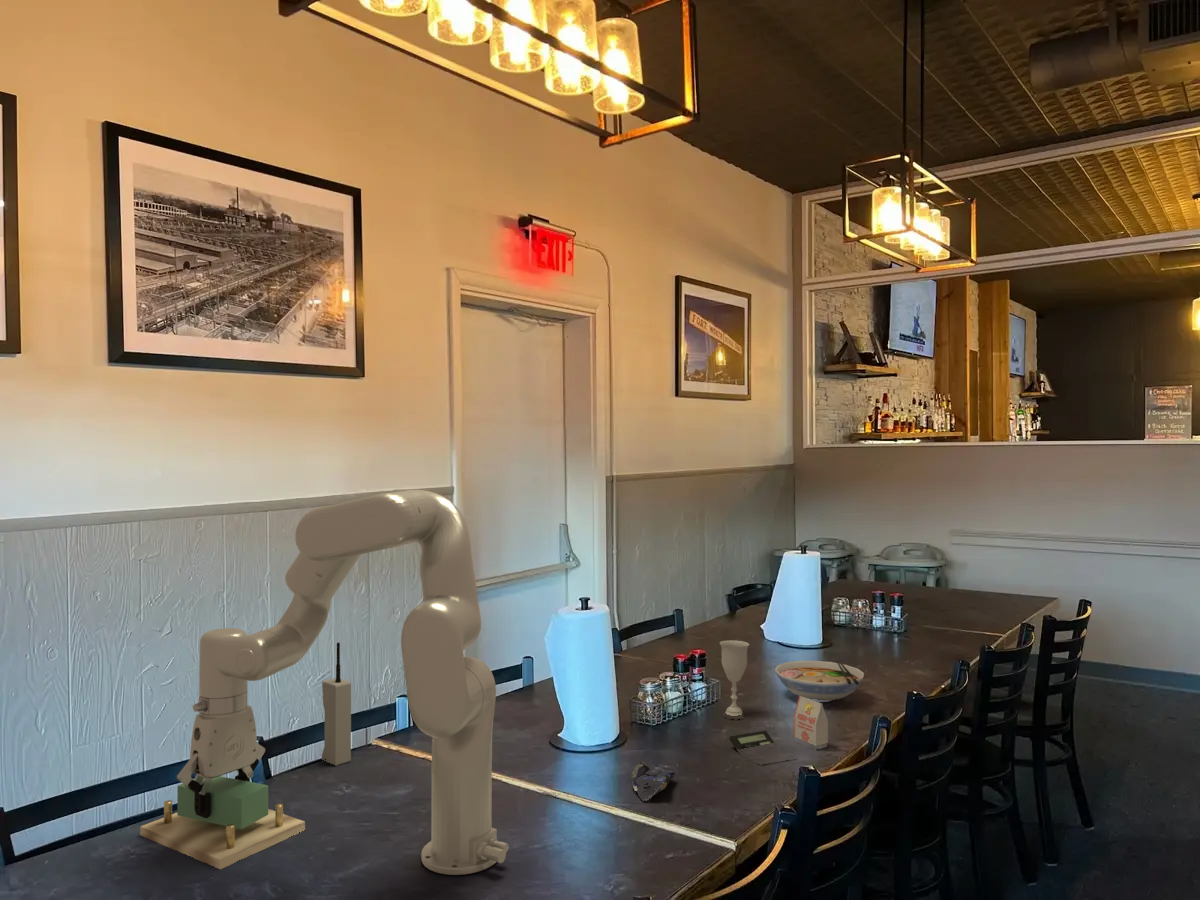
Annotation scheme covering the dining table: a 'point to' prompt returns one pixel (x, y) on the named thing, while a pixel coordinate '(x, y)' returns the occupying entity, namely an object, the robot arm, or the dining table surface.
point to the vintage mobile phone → (337, 718)
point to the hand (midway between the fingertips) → (222, 807)
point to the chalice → (734, 668)
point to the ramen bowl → (819, 679)
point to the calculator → (751, 739)
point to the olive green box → (228, 802)
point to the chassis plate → (220, 835)
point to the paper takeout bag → (810, 722)
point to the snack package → (661, 777)
